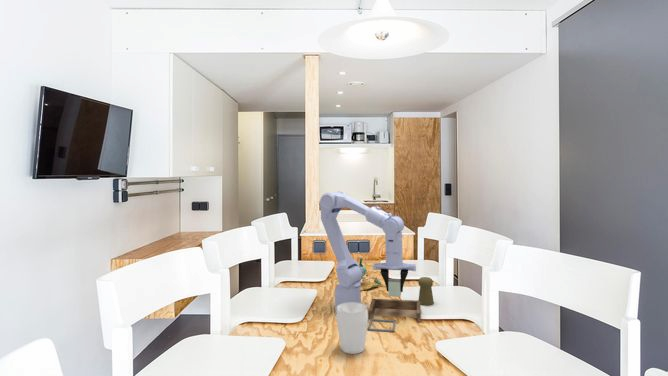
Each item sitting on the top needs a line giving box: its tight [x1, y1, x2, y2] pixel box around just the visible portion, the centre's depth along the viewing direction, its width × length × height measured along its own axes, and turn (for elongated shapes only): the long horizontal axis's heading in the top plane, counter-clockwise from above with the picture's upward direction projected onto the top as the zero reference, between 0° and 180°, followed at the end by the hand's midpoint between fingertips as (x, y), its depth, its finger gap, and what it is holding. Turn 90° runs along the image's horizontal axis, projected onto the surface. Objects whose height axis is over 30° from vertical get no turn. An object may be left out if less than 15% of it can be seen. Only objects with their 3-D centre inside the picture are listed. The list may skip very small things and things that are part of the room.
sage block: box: [387, 278, 402, 298], centre depth 129 cm, size 4×4×5 cm
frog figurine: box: [358, 257, 383, 291], centre depth 163 cm, size 10×18×15 cm, turn 86°
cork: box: [417, 276, 435, 307], centre depth 138 cm, size 6×6×11 cm
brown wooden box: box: [367, 298, 422, 323], centre depth 128 cm, size 17×12×4 cm
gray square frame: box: [366, 318, 397, 333], centre depth 118 cm, size 8×8×2 cm
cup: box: [335, 302, 369, 355], centre depth 106 cm, size 9×9×12 cm
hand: (394, 290), depth 129 cm, fingers closed on sage block, 4 cm apart
